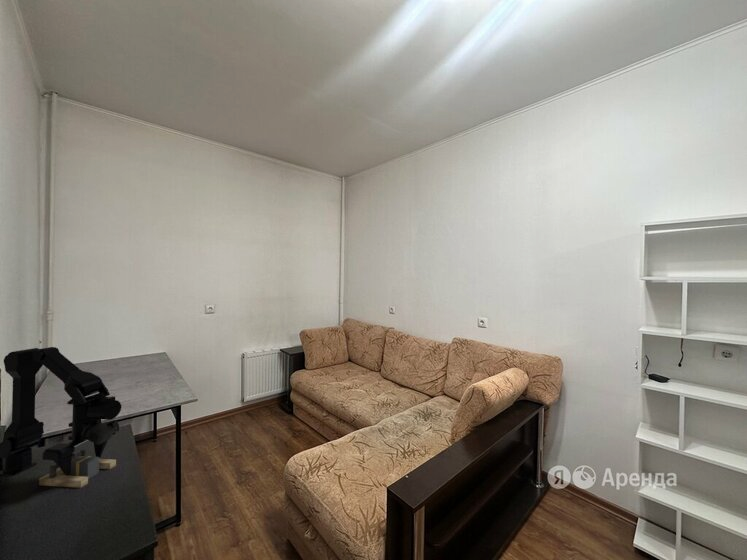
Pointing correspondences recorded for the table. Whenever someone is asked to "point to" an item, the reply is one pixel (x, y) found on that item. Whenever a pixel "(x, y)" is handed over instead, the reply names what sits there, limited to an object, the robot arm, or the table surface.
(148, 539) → the table surface
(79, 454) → the wooden u-shaped holder
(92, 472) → the banded grey block
